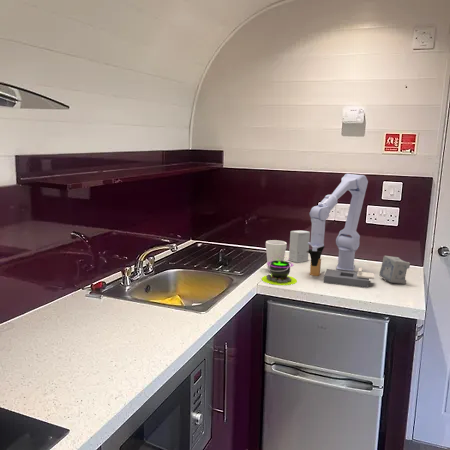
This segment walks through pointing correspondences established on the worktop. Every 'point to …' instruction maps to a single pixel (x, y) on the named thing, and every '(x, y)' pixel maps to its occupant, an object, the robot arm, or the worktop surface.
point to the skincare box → (299, 246)
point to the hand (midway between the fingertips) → (315, 263)
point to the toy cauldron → (279, 273)
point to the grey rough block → (394, 269)
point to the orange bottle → (315, 269)
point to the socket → (345, 278)
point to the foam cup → (275, 250)
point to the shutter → (365, 274)
